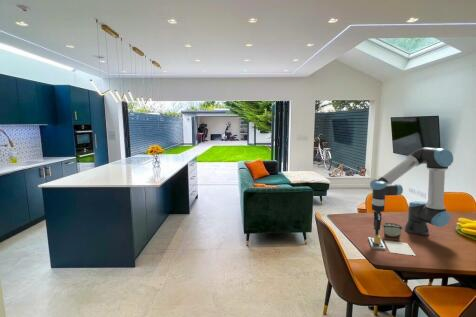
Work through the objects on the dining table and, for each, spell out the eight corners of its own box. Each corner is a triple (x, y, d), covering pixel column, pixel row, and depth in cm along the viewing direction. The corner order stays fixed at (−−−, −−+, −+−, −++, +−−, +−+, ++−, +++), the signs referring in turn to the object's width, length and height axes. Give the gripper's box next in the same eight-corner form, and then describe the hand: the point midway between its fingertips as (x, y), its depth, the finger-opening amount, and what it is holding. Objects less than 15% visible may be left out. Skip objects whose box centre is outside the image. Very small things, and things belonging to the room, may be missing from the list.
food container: (399, 236, 184) (400, 223, 183) (401, 240, 178) (402, 226, 177) (380, 234, 188) (381, 221, 187) (382, 238, 182) (382, 224, 181)
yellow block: (379, 241, 172) (379, 234, 171) (380, 244, 168) (380, 237, 167) (373, 241, 173) (374, 234, 172) (374, 243, 169) (375, 236, 168)
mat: (407, 243, 173) (407, 243, 173) (415, 256, 156) (415, 255, 156) (383, 240, 177) (383, 240, 177) (390, 252, 161) (390, 252, 161)
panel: (380, 240, 178) (380, 237, 177) (385, 250, 164) (385, 247, 163) (368, 239, 180) (368, 236, 180) (371, 248, 166) (371, 245, 166)
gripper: (370, 201, 177) (368, 233, 180) (373, 206, 165) (371, 241, 168) (382, 202, 175) (380, 235, 178) (386, 207, 163) (384, 242, 165)
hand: (376, 238), depth 173 cm, fingers closed
